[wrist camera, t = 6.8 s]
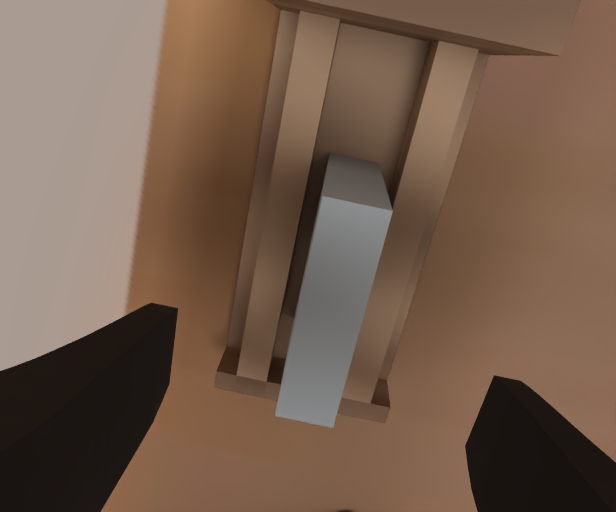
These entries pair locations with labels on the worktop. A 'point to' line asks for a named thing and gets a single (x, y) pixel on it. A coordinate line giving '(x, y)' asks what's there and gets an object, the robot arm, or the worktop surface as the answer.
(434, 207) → the sill track
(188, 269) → the worktop surface
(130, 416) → the robot arm
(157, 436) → the worktop surface
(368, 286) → the grey rectangular block
